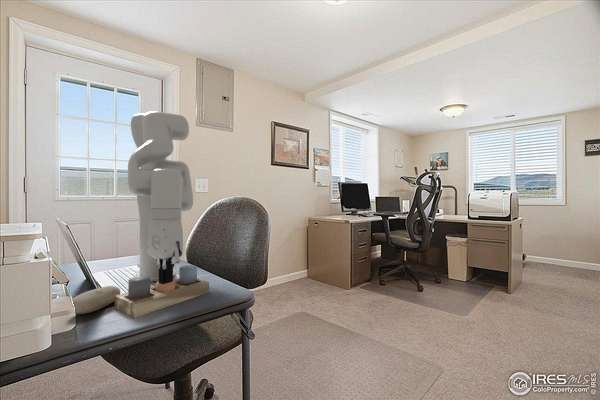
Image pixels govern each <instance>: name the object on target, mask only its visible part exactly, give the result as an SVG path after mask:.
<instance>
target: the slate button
mask: <svg viewBox="0 0 600 400" xmlns="http://www.w3.org/2000/svg"><path fill="white" fill-rule="evenodd" d="M178 272H179V277H178V279H179V282H180V283H184V284H187V283H193V282H196V281H197V279H198V266H197V265H196V264H195V265H194V264H193V265H192V264H191V265H190V264H188V265H181V266H179V271H178Z"/></svg>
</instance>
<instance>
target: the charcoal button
mask: <svg viewBox="0 0 600 400" xmlns="http://www.w3.org/2000/svg"><path fill="white" fill-rule="evenodd" d="M127 284H128V285H127V286H128V290H127V291H128V297H129V298H142V297H146V296H148V295H150V286H151V282H150V277H148V276H139V277H134V276H133V277H131V278H129V279H128V283H127Z"/></svg>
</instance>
